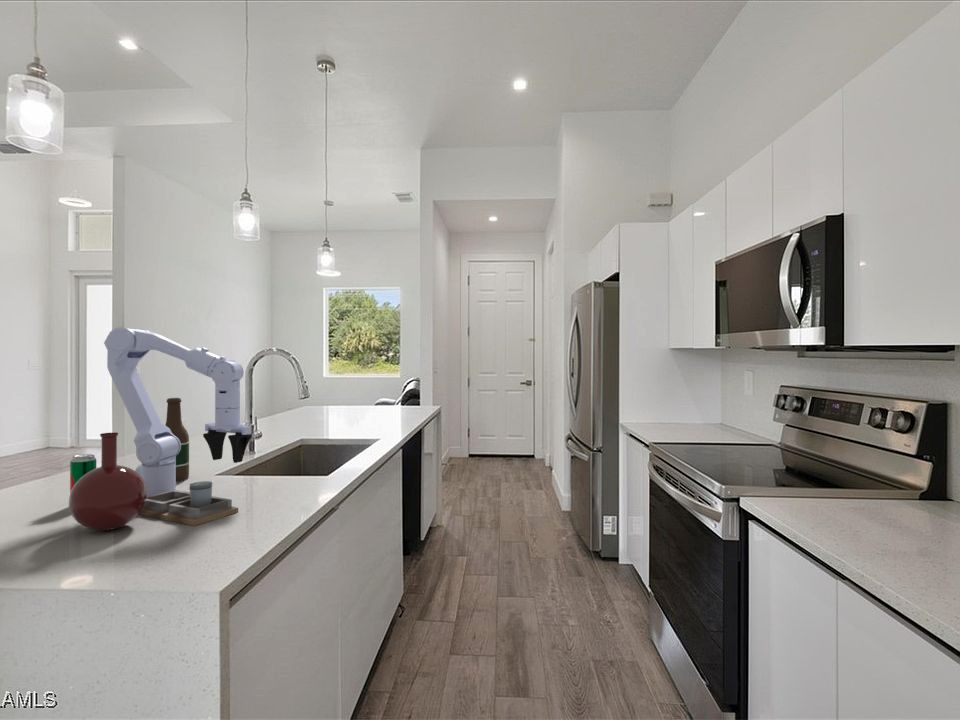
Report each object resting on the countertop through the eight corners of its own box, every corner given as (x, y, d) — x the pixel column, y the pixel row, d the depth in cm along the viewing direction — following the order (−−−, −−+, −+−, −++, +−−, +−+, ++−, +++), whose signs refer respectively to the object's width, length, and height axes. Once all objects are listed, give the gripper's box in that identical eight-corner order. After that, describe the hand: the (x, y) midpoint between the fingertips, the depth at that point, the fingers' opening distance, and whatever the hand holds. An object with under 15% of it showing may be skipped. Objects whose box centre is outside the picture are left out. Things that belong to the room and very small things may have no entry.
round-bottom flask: (51, 541, 99) (51, 438, 99) (97, 519, 112) (97, 429, 112) (122, 539, 100) (122, 438, 100) (159, 518, 113) (159, 428, 113)
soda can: (81, 509, 120) (81, 458, 120) (64, 507, 121) (64, 457, 121) (101, 503, 125) (101, 454, 125) (84, 501, 126) (84, 453, 126)
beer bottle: (151, 482, 145) (151, 398, 145) (172, 476, 153) (172, 396, 153) (175, 483, 144) (175, 399, 144) (195, 477, 152) (195, 397, 151)
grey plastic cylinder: (184, 511, 114) (185, 484, 114) (203, 506, 118) (203, 480, 118) (198, 513, 112) (198, 486, 112) (216, 508, 116) (216, 482, 117)
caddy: (130, 512, 117) (130, 499, 117) (176, 500, 127) (176, 488, 127) (194, 525, 108) (194, 511, 108) (238, 511, 118) (238, 499, 118)
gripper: (194, 408, 130) (194, 461, 130) (234, 410, 123) (233, 466, 124) (218, 405, 136) (218, 456, 136) (257, 408, 130) (257, 461, 130)
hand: (227, 460), depth 130 cm, fingers open, 7 cm apart
